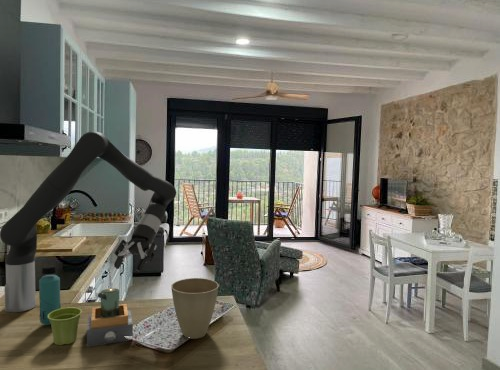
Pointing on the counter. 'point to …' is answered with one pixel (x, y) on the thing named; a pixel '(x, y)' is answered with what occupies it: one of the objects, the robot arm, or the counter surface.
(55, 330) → the plant pot
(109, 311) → the spout can
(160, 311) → the counter surface
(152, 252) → the robot arm
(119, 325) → the gearbox
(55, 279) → the beverage bottle
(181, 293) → the plant pot
